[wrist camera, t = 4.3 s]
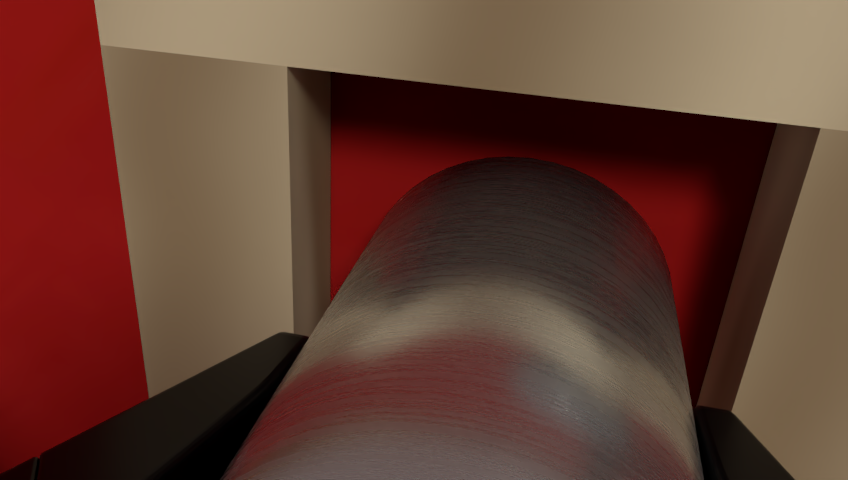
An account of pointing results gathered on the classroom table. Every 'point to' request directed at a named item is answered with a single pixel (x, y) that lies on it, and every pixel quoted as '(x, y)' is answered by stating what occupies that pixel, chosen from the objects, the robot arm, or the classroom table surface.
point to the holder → (493, 70)
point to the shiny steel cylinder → (491, 344)
